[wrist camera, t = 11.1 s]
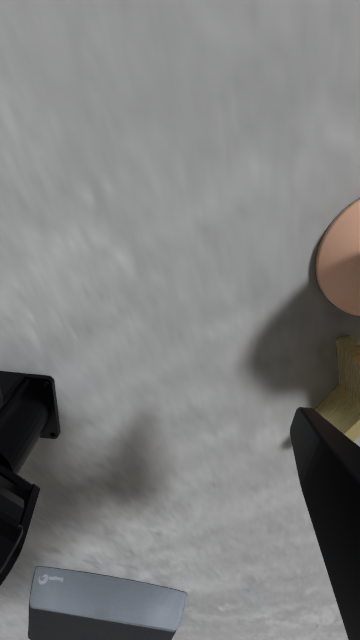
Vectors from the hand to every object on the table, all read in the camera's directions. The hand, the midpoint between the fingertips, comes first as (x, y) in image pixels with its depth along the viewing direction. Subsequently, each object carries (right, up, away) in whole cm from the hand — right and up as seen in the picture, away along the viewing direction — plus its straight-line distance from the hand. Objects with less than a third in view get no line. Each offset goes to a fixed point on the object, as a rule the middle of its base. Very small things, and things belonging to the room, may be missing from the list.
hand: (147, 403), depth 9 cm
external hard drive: (-9, -35, +31) cm, 48 cm away
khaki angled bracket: (+12, -2, +14) cm, 19 cm away
